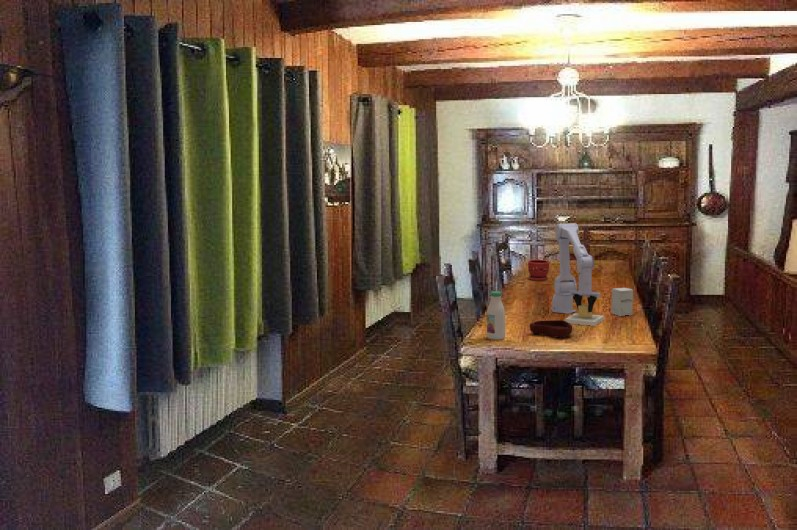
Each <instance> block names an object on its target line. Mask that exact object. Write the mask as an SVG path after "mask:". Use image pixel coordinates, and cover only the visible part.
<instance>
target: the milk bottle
mask: <svg viewBox="0 0 797 530" xmlns="http://www.w3.org/2000/svg"><path fill="white" fill-rule="evenodd" d="M489 295H490V301H489V303H488V306H487V311H486V337H487V339H488V340H493V341H495V340H499V341H500V340H505V338H506V310H505V307H504V305H503V302H502V292H501V291H499V290H496V291H490V294H489Z"/></svg>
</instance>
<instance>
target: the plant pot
mask: <svg viewBox="0 0 797 530" xmlns="http://www.w3.org/2000/svg"><path fill="white" fill-rule="evenodd" d="M527 263H528V264H527V266H528V268H527V270H528V274H529V276H528V279H530V280H531V281H536V282H537V281H538V282H542V281H545V280H547V279H548V276H547V275H548V274H549V269H550V261H549V260H547V259H545V260H544V259H530V260H528V262H527Z"/></svg>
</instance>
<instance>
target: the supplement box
mask: <svg viewBox="0 0 797 530" xmlns="http://www.w3.org/2000/svg"><path fill="white" fill-rule="evenodd" d="M633 304H634V289H632V288H629V287H628V288H627V287H617V288H611V310H610V311H611V313H612V315H614V314H615V316H616V315H618V316H617V317H619V316H620V317H626V316H625V315H629V316H633V314H634V313H633V312H634V309H633V307H634V305H633Z"/></svg>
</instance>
